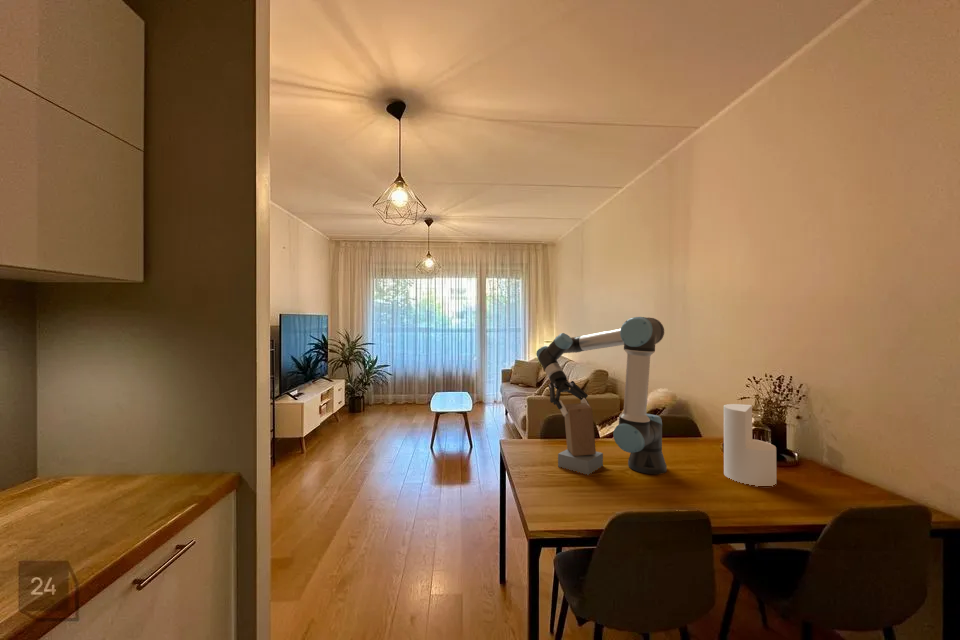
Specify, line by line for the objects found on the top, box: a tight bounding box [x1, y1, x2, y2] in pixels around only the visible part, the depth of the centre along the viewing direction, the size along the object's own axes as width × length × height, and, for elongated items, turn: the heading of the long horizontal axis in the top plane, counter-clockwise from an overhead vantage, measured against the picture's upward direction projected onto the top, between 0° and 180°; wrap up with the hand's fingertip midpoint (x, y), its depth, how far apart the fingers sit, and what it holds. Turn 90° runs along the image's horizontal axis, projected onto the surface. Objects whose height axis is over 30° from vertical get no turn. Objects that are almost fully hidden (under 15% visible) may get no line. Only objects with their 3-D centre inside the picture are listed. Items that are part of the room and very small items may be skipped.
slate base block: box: [557, 448, 604, 476], centre depth 163 cm, size 14×14×6 cm
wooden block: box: [563, 402, 597, 456], centre depth 164 cm, size 10×10×20 cm
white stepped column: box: [723, 403, 777, 487], centre depth 152 cm, size 17×17×28 cm
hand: (578, 413), depth 164 cm, fingers open, 13 cm apart
